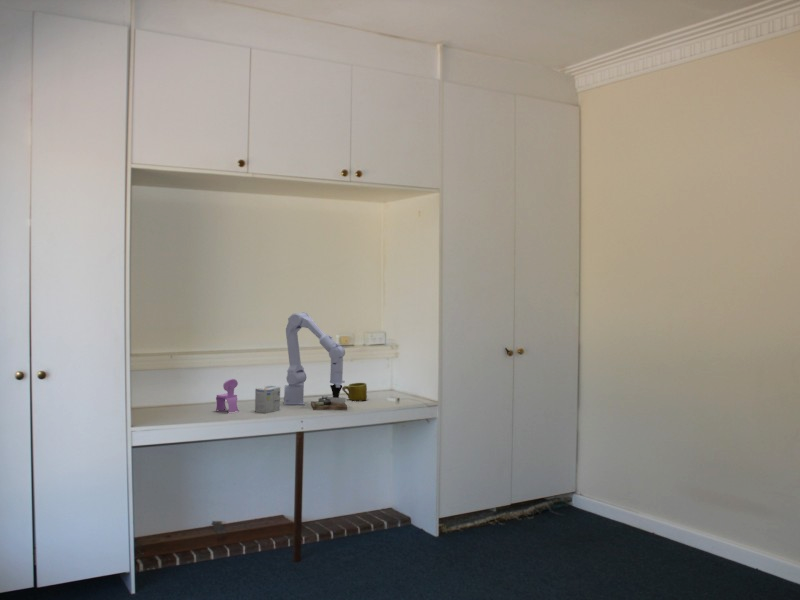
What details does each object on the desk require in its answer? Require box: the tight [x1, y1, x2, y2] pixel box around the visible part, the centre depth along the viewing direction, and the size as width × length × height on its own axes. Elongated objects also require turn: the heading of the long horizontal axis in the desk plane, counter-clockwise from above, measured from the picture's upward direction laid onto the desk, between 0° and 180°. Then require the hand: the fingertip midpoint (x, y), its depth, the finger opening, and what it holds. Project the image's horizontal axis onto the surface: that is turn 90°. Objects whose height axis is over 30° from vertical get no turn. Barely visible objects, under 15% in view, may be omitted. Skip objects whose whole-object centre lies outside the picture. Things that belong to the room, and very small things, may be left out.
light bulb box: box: [254, 385, 281, 414], centre depth 347 cm, size 11×7×11 cm, turn 152°
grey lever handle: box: [318, 395, 346, 405], centre depth 359 cm, size 13×6×3 cm, turn 77°
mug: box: [341, 382, 368, 402], centre depth 383 cm, size 12×10×10 cm
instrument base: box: [310, 400, 348, 411], centre depth 360 cm, size 16×14×3 cm
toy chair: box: [215, 378, 240, 414], centre depth 342 cm, size 8×9×15 cm
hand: (335, 400), depth 360 cm, fingers closed, pressing on grey lever handle
